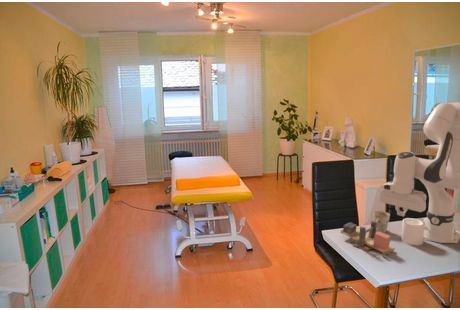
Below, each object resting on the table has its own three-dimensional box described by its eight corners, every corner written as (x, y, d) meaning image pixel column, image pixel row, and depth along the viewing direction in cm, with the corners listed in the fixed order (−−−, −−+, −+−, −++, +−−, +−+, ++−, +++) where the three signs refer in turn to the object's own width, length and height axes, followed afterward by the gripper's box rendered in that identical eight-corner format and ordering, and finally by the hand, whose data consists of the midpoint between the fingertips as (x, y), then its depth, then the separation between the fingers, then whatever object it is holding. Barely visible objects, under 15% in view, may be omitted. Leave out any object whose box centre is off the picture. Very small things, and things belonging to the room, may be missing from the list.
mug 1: (390, 229, 197) (391, 213, 195) (383, 237, 188) (384, 220, 186) (375, 226, 203) (376, 210, 201) (367, 233, 193) (369, 216, 191)
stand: (353, 245, 179) (354, 225, 177) (366, 238, 187) (367, 218, 185) (384, 257, 167) (386, 236, 164) (397, 249, 175) (399, 228, 172)
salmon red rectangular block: (373, 244, 175) (375, 233, 173) (377, 242, 177) (379, 231, 175) (384, 249, 170) (386, 238, 169) (388, 247, 173) (390, 236, 171)
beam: (339, 233, 187) (341, 221, 185) (348, 228, 192) (350, 217, 191) (386, 255, 168) (388, 242, 166) (395, 249, 173) (397, 237, 171)
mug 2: (430, 240, 184) (432, 221, 182) (430, 248, 175) (432, 228, 173) (401, 235, 191) (403, 216, 188) (400, 242, 182) (402, 223, 180)
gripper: (429, 190, 156) (427, 219, 159) (385, 181, 171) (383, 208, 174) (423, 194, 152) (421, 223, 155) (378, 184, 167) (377, 211, 170)
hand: (400, 215), depth 165 cm, fingers closed
